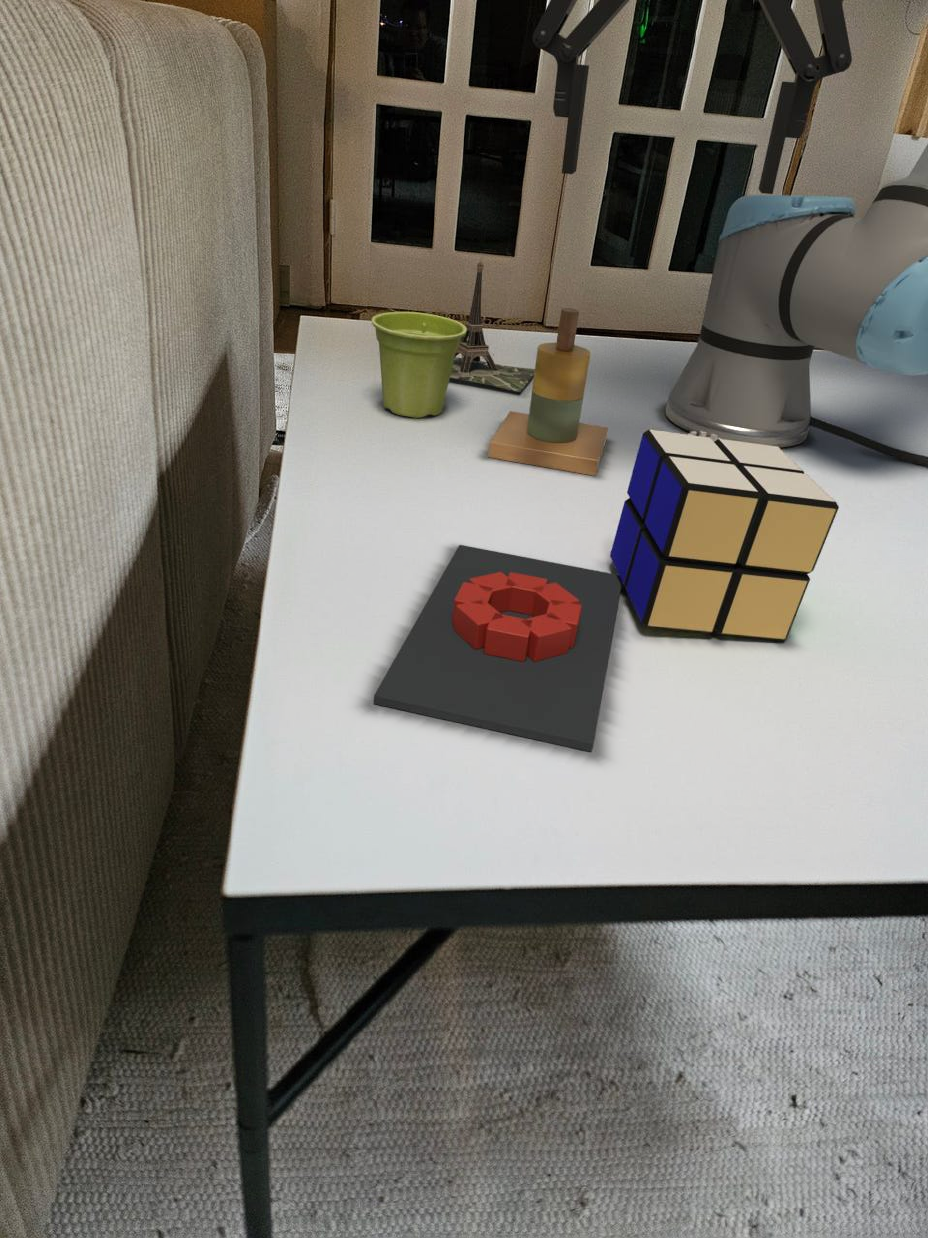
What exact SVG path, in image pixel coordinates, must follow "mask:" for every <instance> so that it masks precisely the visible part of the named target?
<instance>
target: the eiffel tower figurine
mask: <svg viewBox="0 0 928 1238" xmlns="http://www.w3.org/2000/svg"><path fill="white" fill-rule="evenodd" d="M482 256H483V252H481V253H480V258H483V257H482ZM476 264H477V266H476V270H477V271H476V278H475V284H474V288H473V289H474V290H473V295H472V300H471V301H472V302H471V307H470V311H469V316H468V319H467V321H466V322H465V324H466V325H465V326H466V328H467V331H466V334H465V335H464V336H463V337H462V338H461V342H460V346H459V348H458V349H457V350H456V354H455V358H454V362H453V366H452V370H451V374H450V379H455V380H460V381H461V380H462V381H467V382H472V383H475V384H483V385H487V386H491V387H496V388H500V389H504V390H507V391H508V390H509V391H511V392H512V391H513V392H519V393H521V392H522V391H523V390H524V388H525V387H526V385H527V384H528V383H529V381H530V380H531V379H532V377H534V373H535V368H531V367H529V368H528V367H519V366H518V367H517V366H509V365H502V364H498V363H495V361H494V360H493V358H492V355H491V353H490V352H489V347H490V346H489V345H488V344H486V340H485V336H484V330H483V327H484V324H483V323H482V322H483V321H482V289H483V288H482V287H483V285H482V283H483V270H484V263H483V261H482V260H480V261H479V262H478V263H476ZM458 355H461V357H457V356H458ZM481 357H482V358H483V359H484V360H485V361H482V360H481Z"/></svg>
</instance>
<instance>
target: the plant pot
mask: <svg viewBox="0 0 928 1238" xmlns="http://www.w3.org/2000/svg"><path fill="white" fill-rule="evenodd" d="M371 325H372V326H373V327H374V328H375V336H376V340H377V342H378V348H379V350H378V351H379V362H380V363H379V364H380V375H381V376H380V378H381V393H382V404H383V407H384V409H389V410H390V411H391V412H392V413H393V414H395V415H398V416H403V417H410V418H416V419H418V418H424V417H426V416H428V415H432V416H434V417H435V416H439V415H440V414H441V413H442V411H443V409H444V405H445V401H446V395H447V390H448V387H449V382H450V379H451V378H450V374H451V370H452V366H453V362H454V358H455V354H456V350H457V349H458V348H459V346H460V342H461V338H462V337H463V336H464V335H465V334H466V331H467V328H466V325H464V324H463V323H462V322H460V321H458V320H455V319H452V318H449V317H445V316H442V315H437V314H431V313H426V312H416V311H390V312H382V313H378V314H376V315H374V316H372V318H371Z"/></svg>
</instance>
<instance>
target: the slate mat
mask: <svg viewBox="0 0 928 1238" xmlns="http://www.w3.org/2000/svg"><path fill="white" fill-rule="evenodd" d="M498 572H502V573H503V574H504V575H506V576H507V577H508V576H509V574H510V572H513V573H518V574H523V575H528V576H534V577H539V578H544V579H547V584H551V583H557V584H558V585H560V586H561V587H562V588H564V589H565V590H566V591H568V592H569V593H570V594H572V595H573V596H575V597H576V598H577V599H579V605H582V609H581V614H580V619H579V625H578V630H577V634H576V638H575V642H574V646H573V648H572V649H571V648H568V653H566V654H562V655H558V656H555V657H551V658H548V659H544V660H540V661H537V662H534V661H533V660H532V659H531V658H529V657H528V656H526V660H525V662H521V661H517V660H512V659H507V658H502V657H497V656H492V655H488V654H484V648H480V649H476V650H475V649H474V648H473V647H472V646H471V645H470V644H468V643H467V642H466V641H465V640H464V639H463V638H462V637H461V636H460V635H459V634H458V633H457V632H456V631H454V625H453V624H452V619H453V609H454V600H455V598H456V596H457V594H458V592H459V590H460V588H461V586H462V584H463V582H466V583H469V579H470V578H475V577H479V576H484V575H489V574H494V573H498ZM622 586H623V583H622V580H621V578H620V576H619V574H617V573H610V572H604V571H599V570H595V569H589V568H584V567H579V566H573V565H568V564H564V563H558V562H553V561H548V560H542V559H537V558H532V557H526V556H522V555H516V554H511V553H505V552H500V551H495V550H489V549H486V548H485V549H484V548H479V547H473V546H468V545H463V544H458V546H457V548H456V550H455V552H454V553H453V556H452V557H451V559H450V561H449V563H448V564H447V565H446V567H445V569H444V571H443V573H442V575H441V576H440V579H439V580H438V582H437V583H436V585H435V586H434V589H433V591H431V592H432V593H431V594H430V596H429V597H428V600H427V601H426V603H425V605H424V606H423V608H422V610H421V612H420V614H419V615H418V617H417V619H416V620H415V622H414V623H413V626H412V627H411V630H410V631H409V633H408V635H407V636H406V638H405V640H404V641H403V643H402V645H401V646H400V649H399V651H398V653H397V654H396V656H395V657H394V659H393V661H392V663H391V665H390V666H389V669H387V672H386V673H385V675H384V676H383V678H382V680H381V683H380V684H379V686H378V688H377V689H376V690H375V693H374V694H373V704H374V705H378V706H383V707H387V708H391V709H396V710H401V711H405V712H410V713H414V714H415V713H416V714H419V715H424V716H428V717H431V718H436V719H442V720H446V721H450V722H454V723H459V724H463V725H464V724H465V725H469V726H474V727H478V728H482V729H487V730H490V731H496V732H500V733H503V734H504V733H505V734H510V735H512V736H513V735H514V736H518V737H523V738H528V739H531V740H536V741H541V742H544V743H545V742H546V743H551V744H554V745H559V746H563V747H564V746H565V747H568V748H571V749H572V748H573V749H578V750H581V751H587V752H592V751H593V747H594V742H595V736H596V732H597V726H598V719H599V715H600V709H601V703H602V698H603V697H602V696H603V692H604V687H605V680H606V676H607V669H608V664H609V659H610V653H611V648H612V643H613V642H612V641H613V636H614V629H615V626H616V625H615V624H616V619H617V613H618V608H619V602H620V597H621V592H622ZM500 614H502V615H507V616H512V617H517V618H522V619H528V618H532V617H533V616H532V615H528V614H523V613H518V612H513V611H506V612H502V613H500Z"/></svg>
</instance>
